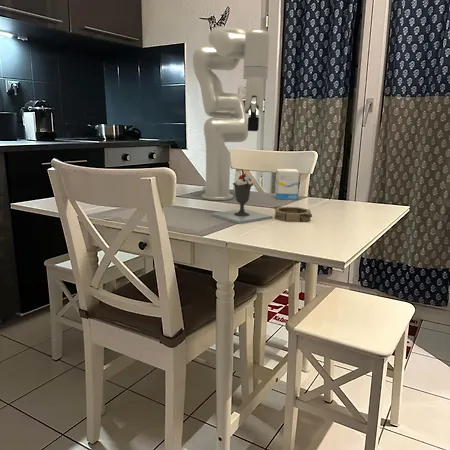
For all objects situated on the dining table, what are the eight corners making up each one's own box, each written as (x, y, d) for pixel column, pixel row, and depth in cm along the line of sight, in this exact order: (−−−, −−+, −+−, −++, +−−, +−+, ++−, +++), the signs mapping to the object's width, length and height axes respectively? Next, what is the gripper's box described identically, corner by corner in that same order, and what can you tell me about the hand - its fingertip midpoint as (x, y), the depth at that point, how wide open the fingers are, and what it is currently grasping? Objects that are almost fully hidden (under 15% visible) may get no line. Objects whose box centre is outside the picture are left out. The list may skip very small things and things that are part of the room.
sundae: (235, 217, 136) (237, 169, 133) (228, 213, 143) (229, 167, 139) (255, 216, 138) (257, 169, 135) (247, 212, 145) (249, 167, 141)
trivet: (211, 215, 142) (211, 213, 142) (244, 211, 150) (244, 208, 150) (239, 224, 131) (239, 221, 131) (272, 218, 140) (272, 216, 139)
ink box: (297, 200, 174) (299, 170, 171) (276, 199, 174) (278, 170, 171) (294, 196, 182) (296, 168, 179) (274, 196, 182) (276, 168, 179)
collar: (264, 215, 143) (264, 208, 143) (287, 212, 150) (288, 204, 149) (297, 224, 132) (297, 216, 131) (321, 220, 139) (322, 212, 138)
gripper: (244, 76, 143) (242, 129, 147) (242, 71, 126) (240, 131, 131) (267, 76, 142) (264, 129, 147) (267, 71, 126) (264, 132, 130)
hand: (253, 130), depth 139 cm, fingers open, 9 cm apart
